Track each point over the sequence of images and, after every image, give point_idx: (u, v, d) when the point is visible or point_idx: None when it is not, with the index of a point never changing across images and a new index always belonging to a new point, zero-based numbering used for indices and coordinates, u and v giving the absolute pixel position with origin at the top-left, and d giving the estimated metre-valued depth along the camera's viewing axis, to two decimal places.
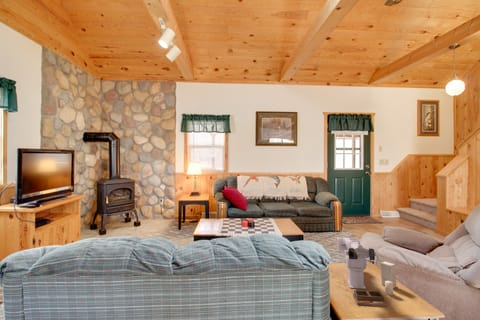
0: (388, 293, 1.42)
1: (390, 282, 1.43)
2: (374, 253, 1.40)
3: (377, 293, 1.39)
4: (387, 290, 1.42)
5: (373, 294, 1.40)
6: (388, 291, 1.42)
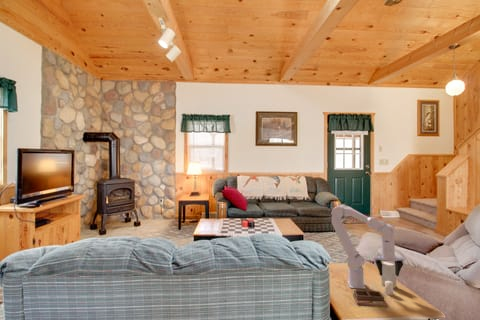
0: (388, 293, 1.42)
1: (390, 282, 1.43)
2: (401, 263, 1.42)
3: (377, 293, 1.39)
4: (387, 290, 1.42)
5: (373, 294, 1.40)
6: (388, 291, 1.42)
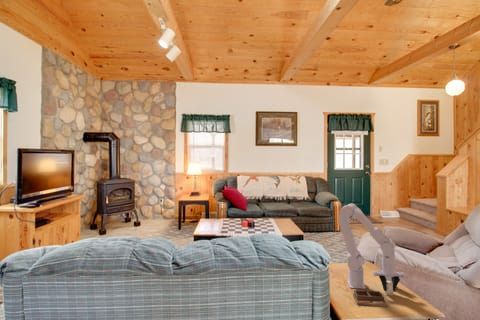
0: (388, 293, 1.42)
1: (390, 282, 1.43)
2: None
3: (377, 293, 1.39)
4: (387, 290, 1.42)
5: (373, 294, 1.40)
6: (388, 291, 1.42)
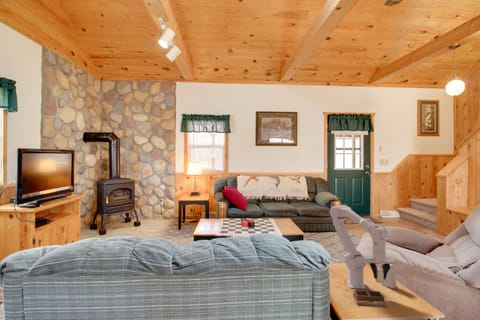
0: (378, 281, 1.40)
1: (380, 270, 1.41)
2: None
3: (377, 293, 1.39)
4: (377, 278, 1.41)
5: (373, 294, 1.40)
6: (378, 279, 1.40)
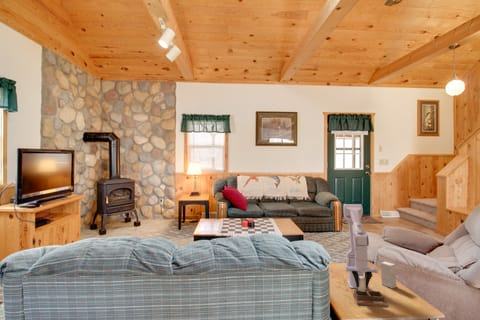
0: (360, 289, 1.37)
1: (362, 278, 1.38)
2: None
3: (377, 293, 1.39)
4: (359, 286, 1.37)
5: (373, 294, 1.40)
6: (360, 287, 1.37)
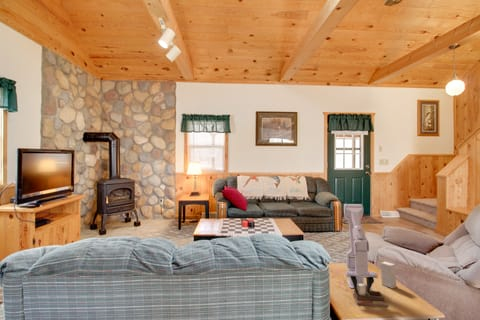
0: None
1: (362, 285, 1.38)
2: (373, 279, 1.37)
3: (377, 293, 1.39)
4: (359, 293, 1.37)
5: (373, 294, 1.40)
6: (360, 295, 1.37)
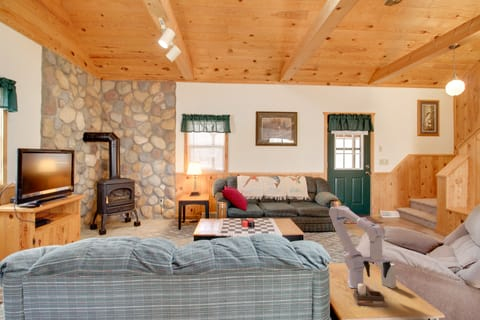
0: None
1: (362, 285, 1.38)
2: None
3: (377, 293, 1.39)
4: (359, 293, 1.37)
5: (373, 294, 1.40)
6: (360, 295, 1.37)
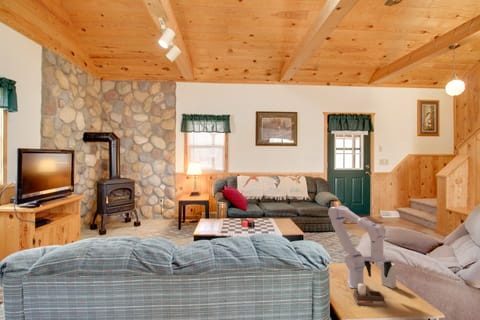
0: None
1: (362, 285, 1.38)
2: (390, 264, 1.41)
3: (377, 293, 1.39)
4: (359, 293, 1.37)
5: (373, 294, 1.40)
6: (360, 294, 1.37)
